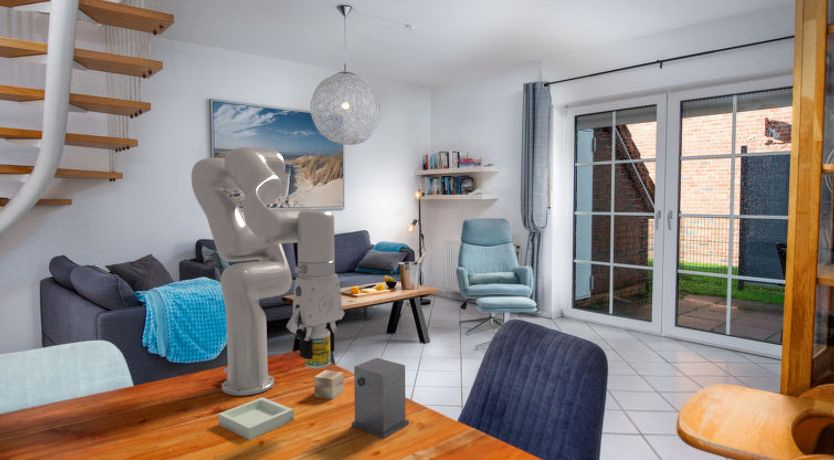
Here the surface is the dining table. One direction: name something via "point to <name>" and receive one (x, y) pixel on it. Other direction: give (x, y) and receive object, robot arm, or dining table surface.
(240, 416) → the tray
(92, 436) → the dining table surface
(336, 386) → the beech block
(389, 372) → the tabletop unit
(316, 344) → the supplement bottle
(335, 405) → the dining table surface
